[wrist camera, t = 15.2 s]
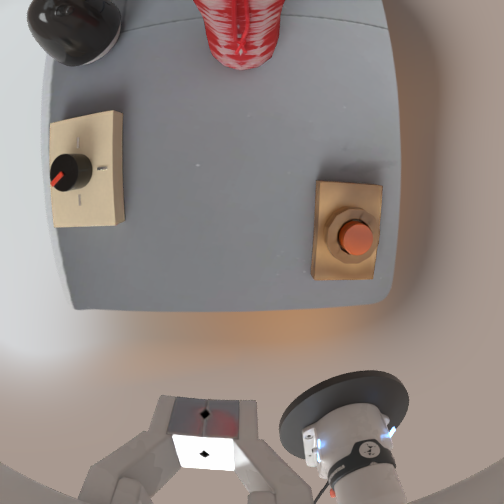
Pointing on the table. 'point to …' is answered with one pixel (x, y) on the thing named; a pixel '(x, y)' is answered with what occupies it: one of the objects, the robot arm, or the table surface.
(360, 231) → the push button
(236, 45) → the water bottle
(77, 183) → the dial
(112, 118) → the panel
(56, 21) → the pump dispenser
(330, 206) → the button block
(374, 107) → the table surface
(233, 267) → the table surface
